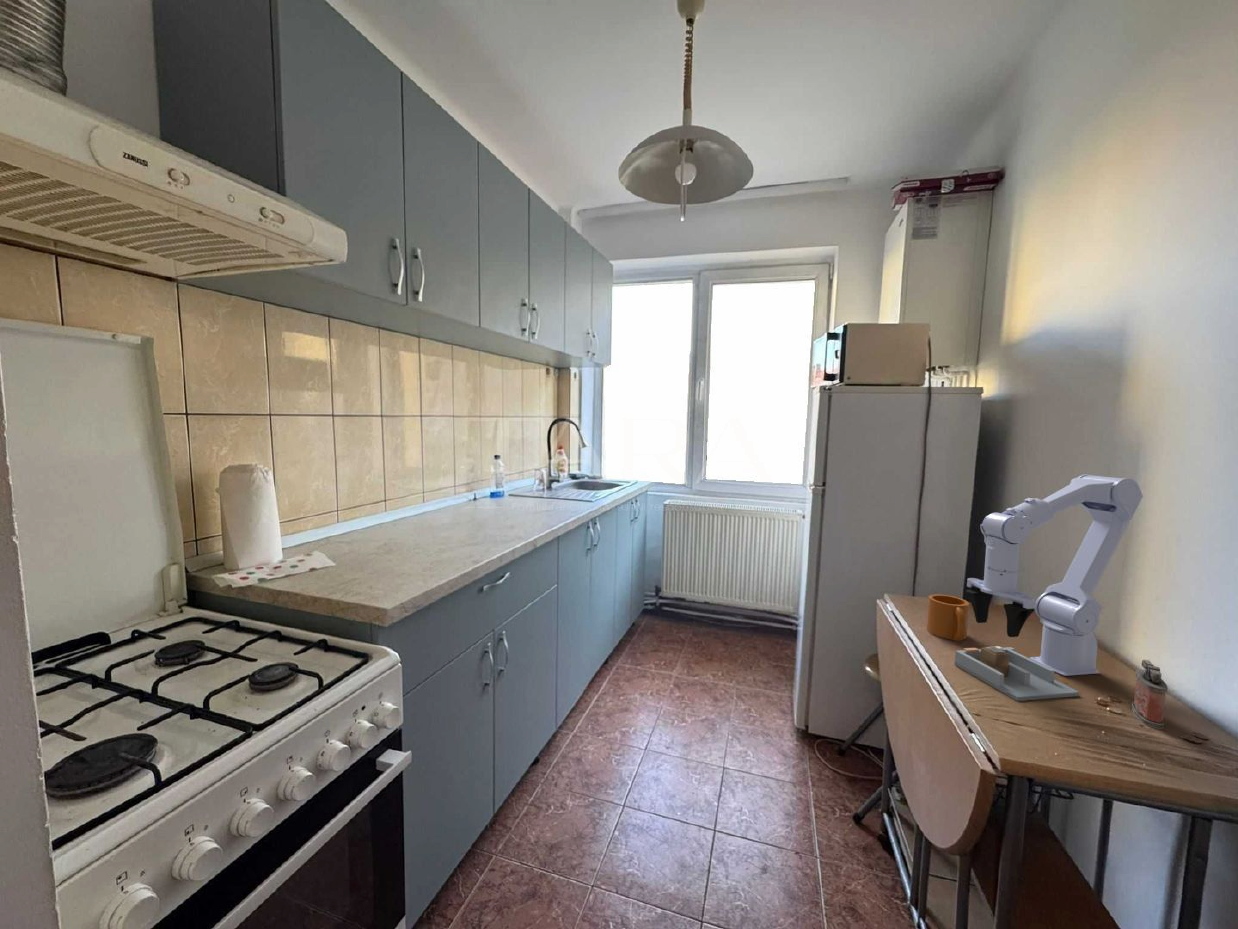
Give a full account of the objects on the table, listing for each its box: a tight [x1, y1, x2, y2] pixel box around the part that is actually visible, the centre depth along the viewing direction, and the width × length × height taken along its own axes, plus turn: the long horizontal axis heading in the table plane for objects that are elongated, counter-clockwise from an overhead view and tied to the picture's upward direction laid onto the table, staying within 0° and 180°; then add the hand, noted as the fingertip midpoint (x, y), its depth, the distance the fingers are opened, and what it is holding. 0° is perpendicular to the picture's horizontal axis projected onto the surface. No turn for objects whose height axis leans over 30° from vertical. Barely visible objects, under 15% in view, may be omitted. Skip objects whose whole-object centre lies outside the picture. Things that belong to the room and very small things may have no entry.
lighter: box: [1131, 659, 1168, 730], centre depth 93 cm, size 8×3×10 cm, turn 148°
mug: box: [926, 594, 970, 642], centre depth 129 cm, size 9×12×9 cm
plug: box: [980, 646, 1010, 677], centre depth 108 cm, size 4×4×5 cm
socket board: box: [954, 645, 1080, 702], centre depth 107 cm, size 14×15×4 cm
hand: (996, 629), depth 110 cm, fingers open, 7 cm apart
